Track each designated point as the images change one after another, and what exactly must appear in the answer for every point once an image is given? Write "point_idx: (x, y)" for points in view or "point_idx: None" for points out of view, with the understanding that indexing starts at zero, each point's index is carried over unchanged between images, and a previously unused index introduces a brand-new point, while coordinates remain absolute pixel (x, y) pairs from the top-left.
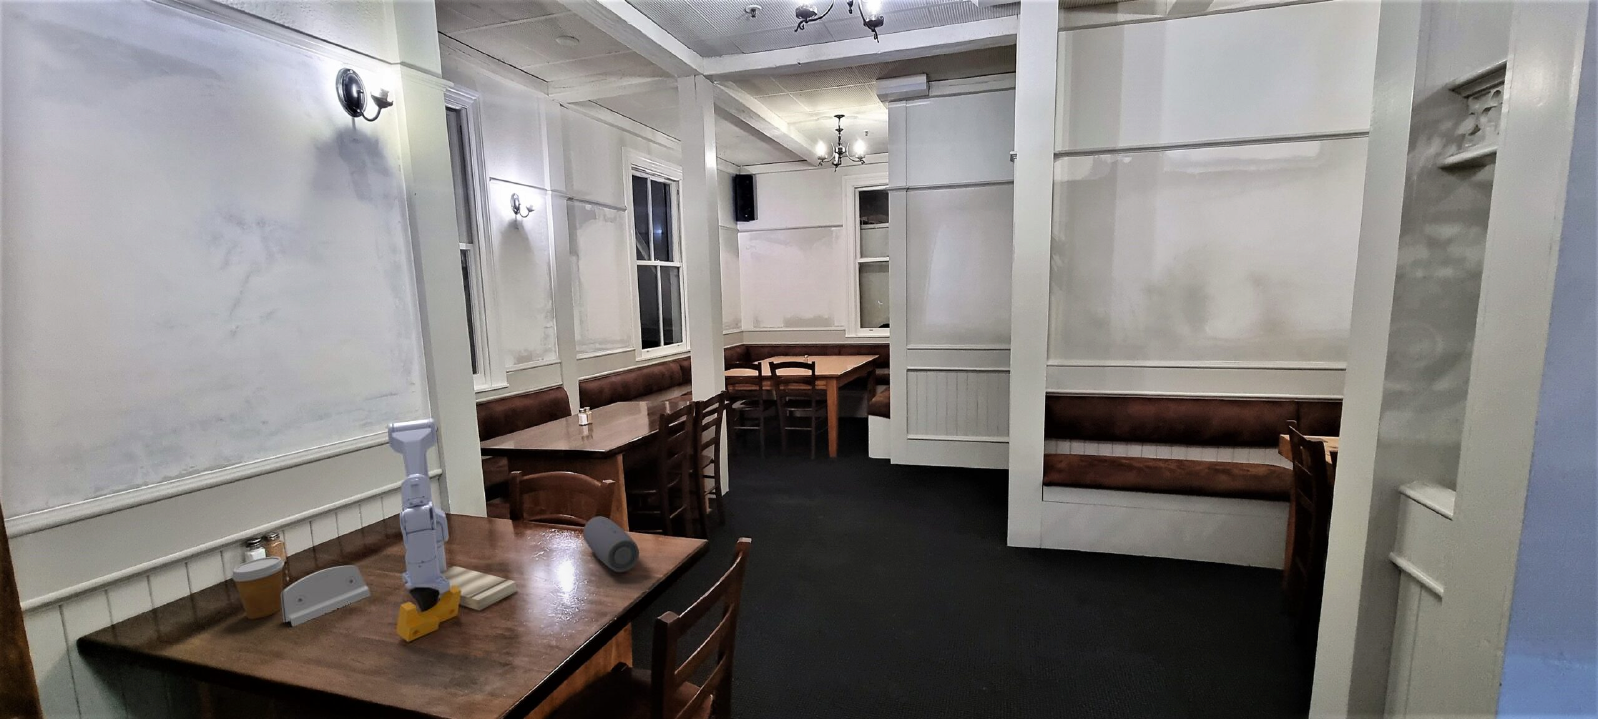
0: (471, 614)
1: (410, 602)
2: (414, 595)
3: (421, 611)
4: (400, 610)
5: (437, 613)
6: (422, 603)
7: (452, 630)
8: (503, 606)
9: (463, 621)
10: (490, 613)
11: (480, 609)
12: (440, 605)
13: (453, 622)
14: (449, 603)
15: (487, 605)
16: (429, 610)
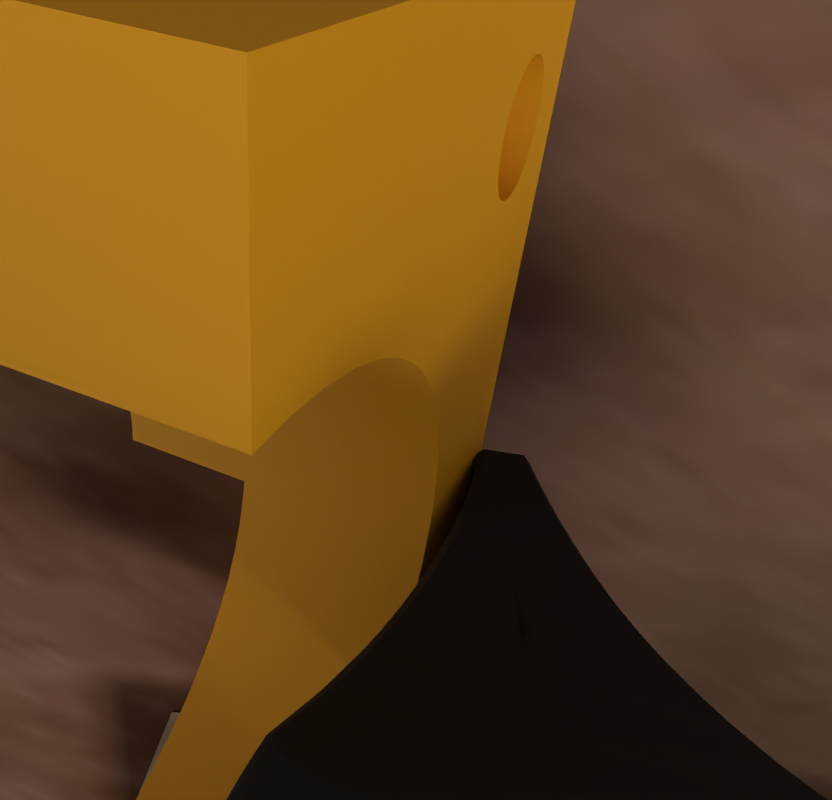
0: (174, 650)
1: (183, 417)
2: (620, 768)
3: (542, 509)
4: (325, 3)
5: (247, 525)
6: (421, 610)
7: (13, 372)
8: (26, 781)
9: (107, 540)
10: (5, 688)
11: (171, 722)
12: (307, 665)
13: (198, 505)
14: (185, 716)
15: None
16: (399, 547)
